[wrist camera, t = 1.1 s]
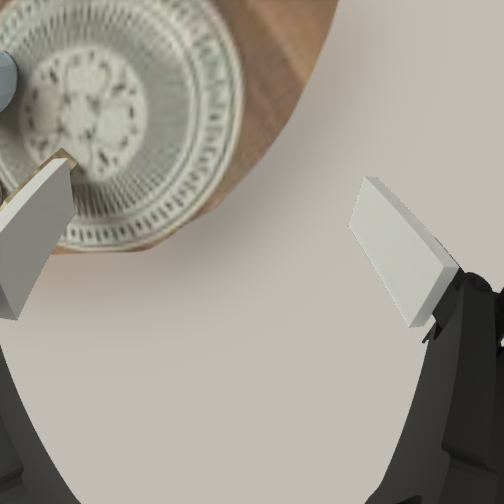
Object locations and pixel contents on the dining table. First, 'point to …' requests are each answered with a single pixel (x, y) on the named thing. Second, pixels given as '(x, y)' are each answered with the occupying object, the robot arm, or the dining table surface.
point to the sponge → (0, 196)
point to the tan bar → (57, 155)
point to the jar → (7, 79)
